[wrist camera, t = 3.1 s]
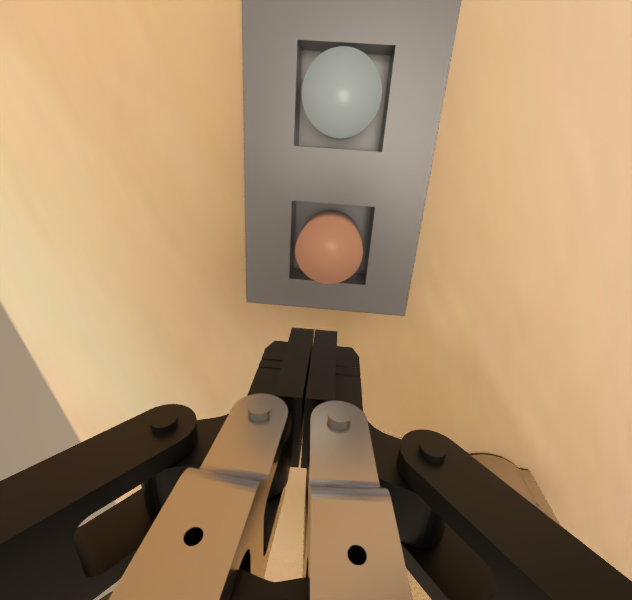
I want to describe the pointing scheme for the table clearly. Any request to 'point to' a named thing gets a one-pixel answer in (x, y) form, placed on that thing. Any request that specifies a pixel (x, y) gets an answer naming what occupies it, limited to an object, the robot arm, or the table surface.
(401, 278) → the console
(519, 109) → the table surface
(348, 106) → the slate button
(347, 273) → the terracotta button
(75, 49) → the table surface
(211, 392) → the table surface
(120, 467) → the robot arm
